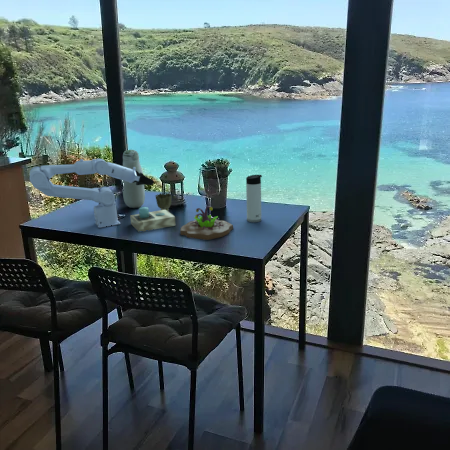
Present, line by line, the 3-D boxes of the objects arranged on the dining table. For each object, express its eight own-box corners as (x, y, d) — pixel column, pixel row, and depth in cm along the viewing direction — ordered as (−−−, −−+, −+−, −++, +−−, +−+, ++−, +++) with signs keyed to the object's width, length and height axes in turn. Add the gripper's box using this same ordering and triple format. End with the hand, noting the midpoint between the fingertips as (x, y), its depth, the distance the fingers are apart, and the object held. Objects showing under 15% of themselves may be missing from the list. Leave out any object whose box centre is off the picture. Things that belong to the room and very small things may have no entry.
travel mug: (261, 222, 206) (260, 176, 199) (245, 222, 207) (244, 176, 201) (263, 218, 212) (262, 173, 205) (248, 217, 213) (247, 173, 206)
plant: (212, 243, 186) (210, 216, 182) (173, 235, 196) (171, 208, 193) (240, 228, 201) (239, 202, 198) (202, 221, 212) (201, 196, 208)
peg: (141, 218, 203) (140, 210, 202) (138, 216, 206) (137, 207, 205) (150, 217, 205) (149, 208, 203) (147, 214, 208) (146, 206, 207)
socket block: (139, 232, 200) (138, 222, 198) (131, 224, 210) (130, 214, 209) (175, 225, 206) (174, 216, 205) (165, 217, 217) (165, 209, 215)
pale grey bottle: (121, 209, 231) (114, 151, 222) (131, 203, 240) (125, 147, 231) (140, 211, 228) (134, 152, 219) (149, 204, 237) (144, 148, 228)
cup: (174, 208, 229) (172, 192, 227) (170, 213, 223) (169, 196, 220) (158, 209, 230) (157, 192, 228) (155, 213, 223) (153, 197, 221)
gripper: (127, 165, 200) (158, 175, 206) (120, 162, 213) (149, 171, 219) (122, 181, 201) (153, 190, 207) (116, 177, 214) (144, 186, 220)
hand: (151, 182), depth 213 cm, fingers open, 7 cm apart
